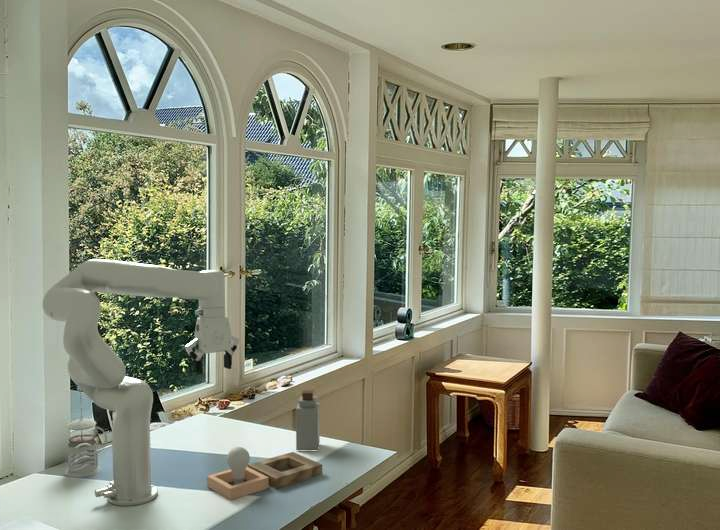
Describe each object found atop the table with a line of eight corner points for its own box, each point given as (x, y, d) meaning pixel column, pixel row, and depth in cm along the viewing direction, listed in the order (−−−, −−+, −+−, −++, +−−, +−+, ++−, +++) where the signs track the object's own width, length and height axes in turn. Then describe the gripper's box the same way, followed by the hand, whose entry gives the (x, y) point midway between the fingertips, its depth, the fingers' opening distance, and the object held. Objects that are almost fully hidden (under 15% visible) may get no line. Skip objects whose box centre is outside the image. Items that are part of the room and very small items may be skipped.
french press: (63, 468, 211) (60, 384, 209) (104, 461, 216) (102, 379, 214) (66, 479, 202) (63, 391, 200) (109, 472, 208) (107, 387, 205)
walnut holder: (275, 489, 195) (275, 478, 195) (247, 474, 206) (247, 464, 205) (322, 474, 206) (322, 464, 206) (293, 461, 216) (293, 451, 216)
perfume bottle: (317, 451, 225) (317, 394, 224) (296, 451, 226) (295, 394, 224) (319, 444, 232) (319, 389, 231) (298, 444, 232) (298, 388, 231)
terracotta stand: (230, 500, 188) (230, 488, 188) (207, 486, 197) (206, 475, 197) (268, 488, 196) (268, 477, 196) (244, 475, 205) (244, 465, 205)
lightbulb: (238, 493, 193) (237, 452, 192) (222, 487, 196) (221, 448, 196) (254, 486, 198) (254, 446, 197) (239, 480, 201) (238, 442, 200)
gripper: (191, 317, 201) (192, 377, 203) (244, 311, 213) (245, 368, 214) (178, 314, 207) (180, 373, 208) (231, 308, 218) (232, 364, 220)
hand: (213, 370), depth 211 cm, fingers open, 9 cm apart
